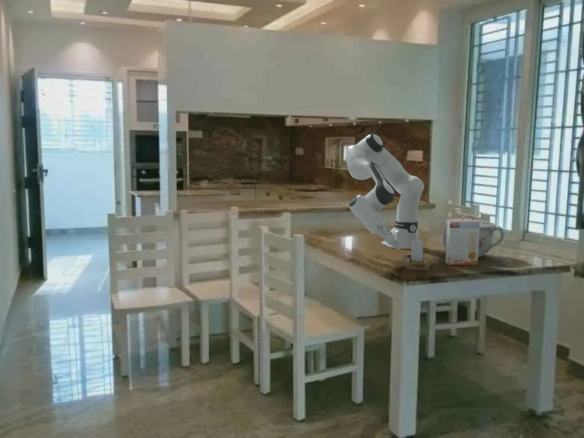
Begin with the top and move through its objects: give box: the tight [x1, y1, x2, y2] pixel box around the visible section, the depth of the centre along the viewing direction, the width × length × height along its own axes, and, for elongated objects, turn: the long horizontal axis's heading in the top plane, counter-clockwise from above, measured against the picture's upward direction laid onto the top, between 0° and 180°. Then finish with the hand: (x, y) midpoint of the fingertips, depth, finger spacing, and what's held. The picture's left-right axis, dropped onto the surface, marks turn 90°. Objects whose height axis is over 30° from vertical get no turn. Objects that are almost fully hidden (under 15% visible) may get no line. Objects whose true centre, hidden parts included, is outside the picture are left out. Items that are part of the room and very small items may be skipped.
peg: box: [410, 239, 424, 263], centre depth 263 cm, size 4×4×12 cm
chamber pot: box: [439, 214, 505, 258], centre depth 292 cm, size 28×28×21 cm
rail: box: [401, 253, 431, 271], centre depth 269 cm, size 24×10×3 cm, turn 174°
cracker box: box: [444, 219, 480, 266], centre depth 270 cm, size 14×6×21 cm, turn 92°
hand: (398, 246), depth 263 cm, fingers open, 8 cm apart
